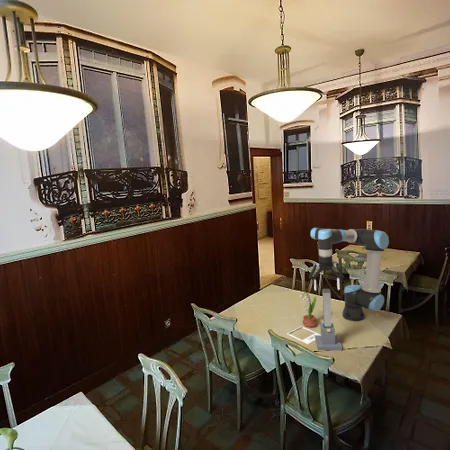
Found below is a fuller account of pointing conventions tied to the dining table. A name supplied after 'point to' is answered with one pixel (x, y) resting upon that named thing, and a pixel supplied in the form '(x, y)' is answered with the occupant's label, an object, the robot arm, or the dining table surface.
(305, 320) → the potted flower
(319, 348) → the jack stand
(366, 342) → the dining table surface
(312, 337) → the photo frame
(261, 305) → the dining table surface
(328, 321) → the post
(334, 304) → the dining table surface
